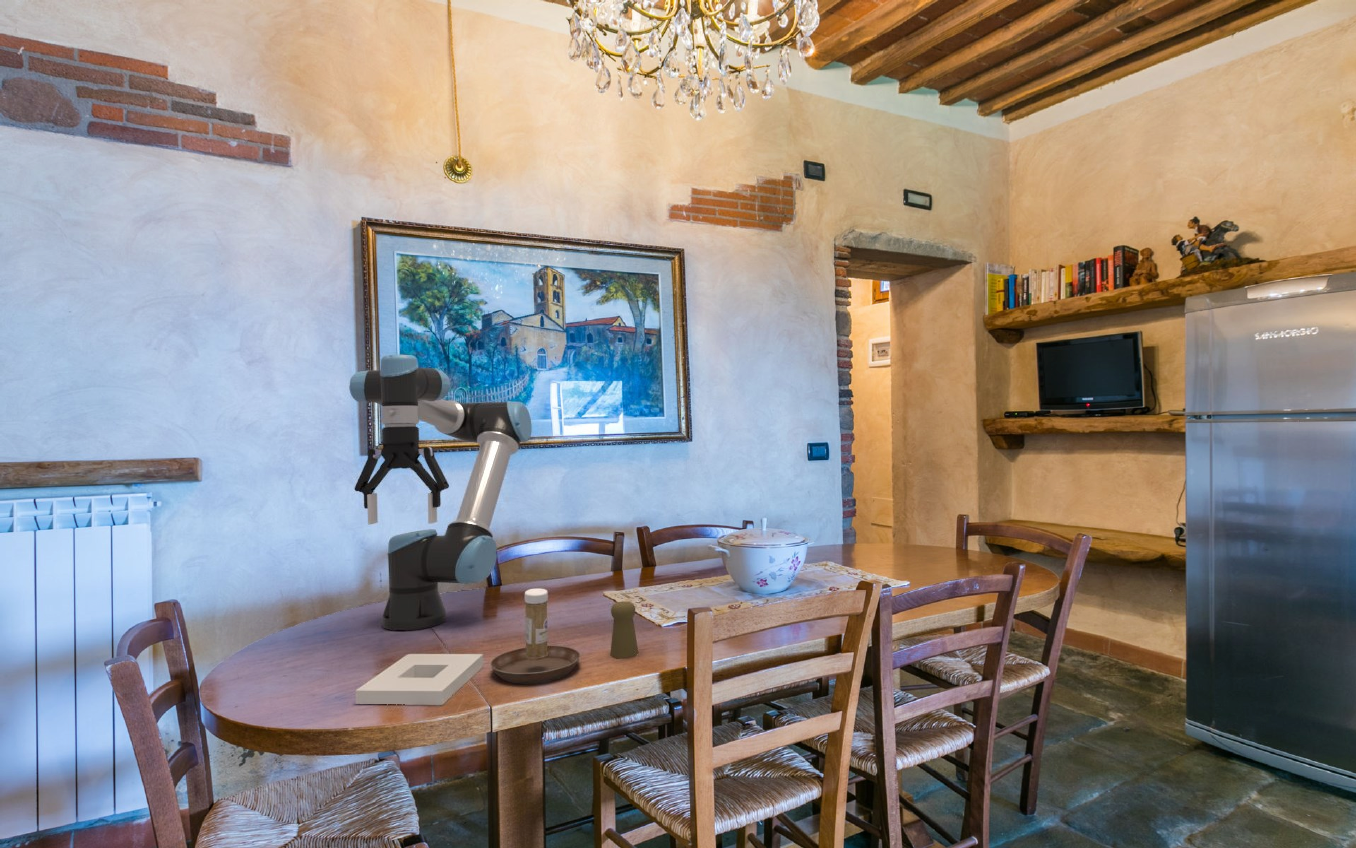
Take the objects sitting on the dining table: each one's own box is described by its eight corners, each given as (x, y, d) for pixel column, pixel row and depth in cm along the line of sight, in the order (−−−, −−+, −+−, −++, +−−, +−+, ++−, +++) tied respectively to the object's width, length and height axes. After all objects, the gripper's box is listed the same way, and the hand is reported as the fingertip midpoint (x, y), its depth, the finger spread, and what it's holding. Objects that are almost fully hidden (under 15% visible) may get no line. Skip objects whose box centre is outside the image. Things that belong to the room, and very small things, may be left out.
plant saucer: (484, 666, 144) (484, 652, 145) (568, 653, 152) (567, 639, 152) (498, 695, 128) (498, 679, 128) (591, 679, 135) (591, 664, 135)
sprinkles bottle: (547, 660, 138) (547, 594, 137) (523, 661, 138) (523, 595, 137) (548, 651, 143) (548, 587, 142) (526, 652, 142) (525, 587, 141)
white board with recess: (408, 666, 144) (408, 654, 144) (483, 666, 143) (483, 654, 143) (355, 704, 125) (355, 690, 125) (442, 705, 123) (441, 691, 123)
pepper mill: (616, 660, 145) (615, 607, 145) (605, 652, 150) (604, 601, 150) (643, 655, 147) (641, 603, 147) (631, 647, 153) (630, 597, 153)
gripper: (336, 427, 149) (338, 526, 149) (448, 424, 147) (451, 524, 147) (355, 427, 157) (357, 521, 157) (462, 424, 155) (464, 520, 155)
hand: (402, 523), depth 152 cm, fingers open, 13 cm apart
